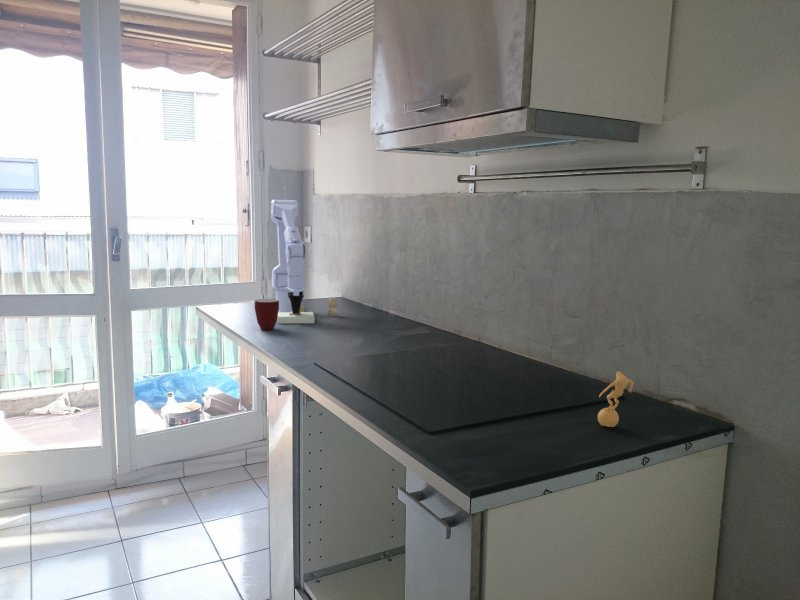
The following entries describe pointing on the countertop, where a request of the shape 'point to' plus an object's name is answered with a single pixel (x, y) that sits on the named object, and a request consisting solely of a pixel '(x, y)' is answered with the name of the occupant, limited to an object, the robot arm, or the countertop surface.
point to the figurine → (609, 414)
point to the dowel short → (302, 308)
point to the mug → (266, 313)
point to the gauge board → (295, 317)
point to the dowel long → (332, 307)
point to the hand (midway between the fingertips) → (295, 312)
